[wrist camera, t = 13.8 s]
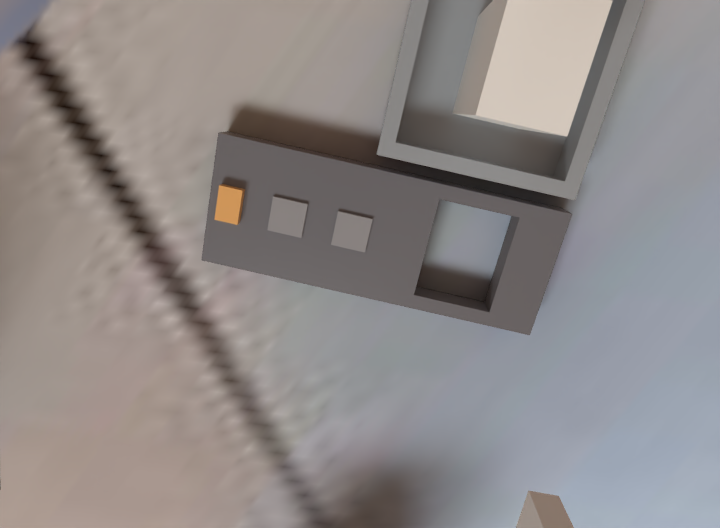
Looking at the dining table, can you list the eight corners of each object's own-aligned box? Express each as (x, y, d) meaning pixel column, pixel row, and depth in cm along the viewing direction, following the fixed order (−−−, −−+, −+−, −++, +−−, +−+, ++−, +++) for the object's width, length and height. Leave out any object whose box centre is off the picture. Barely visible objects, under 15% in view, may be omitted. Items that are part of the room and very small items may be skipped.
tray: (377, 151, 35) (376, 154, 33) (425, -59, 32) (428, -76, 29) (560, 193, 36) (575, 200, 33) (629, -12, 32) (653, -23, 29)
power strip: (211, 252, 38) (198, 262, 36) (227, 131, 36) (215, 133, 33) (522, 323, 39) (532, 338, 36) (562, 208, 36) (575, 215, 33)
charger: (452, 113, 34) (475, 115, 24) (478, 16, 32) (513, -23, 23) (518, 128, 34) (567, 136, 24) (547, 32, 32) (612, 0, 23)
